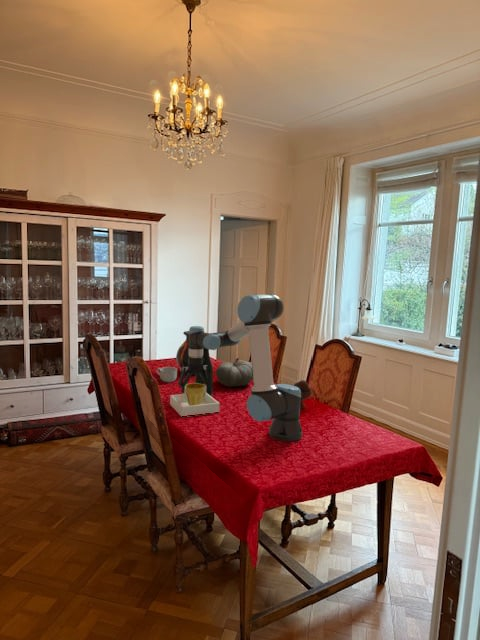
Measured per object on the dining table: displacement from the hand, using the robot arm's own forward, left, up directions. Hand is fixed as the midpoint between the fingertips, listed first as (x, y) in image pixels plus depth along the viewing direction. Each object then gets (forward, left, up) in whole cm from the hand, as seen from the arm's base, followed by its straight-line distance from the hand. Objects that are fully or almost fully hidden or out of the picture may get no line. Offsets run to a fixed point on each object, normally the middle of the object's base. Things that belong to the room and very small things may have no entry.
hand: (194, 397), depth 231 cm
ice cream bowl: (-16, -56, -6) cm, 59 cm away
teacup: (+54, -1, -6) cm, 54 cm away
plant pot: (0, 0, -4) cm, 4 cm away
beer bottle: (+20, -13, -6) cm, 25 cm away
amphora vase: (+68, -23, -6) cm, 72 cm away
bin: (0, 0, -6) cm, 6 cm away
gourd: (+33, -39, -6) cm, 51 cm away
